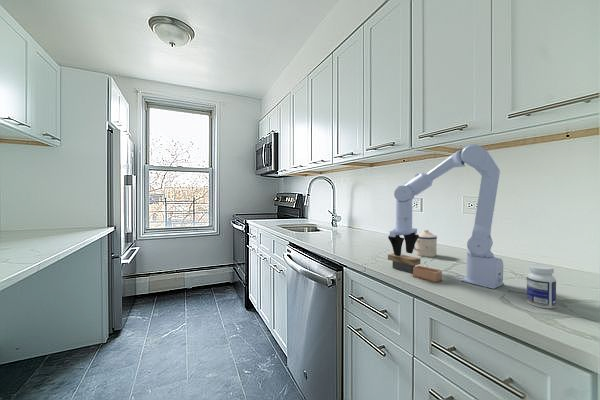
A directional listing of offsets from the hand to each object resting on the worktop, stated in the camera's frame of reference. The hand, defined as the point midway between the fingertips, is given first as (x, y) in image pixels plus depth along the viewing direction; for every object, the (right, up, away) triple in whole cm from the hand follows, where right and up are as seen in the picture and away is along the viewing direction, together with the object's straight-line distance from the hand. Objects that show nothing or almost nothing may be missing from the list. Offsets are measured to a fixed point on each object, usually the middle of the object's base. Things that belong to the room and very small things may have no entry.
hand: (403, 254), depth 104 cm
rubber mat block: (0, -6, 0) cm, 6 cm away
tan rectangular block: (+4, -6, -11) cm, 13 cm away
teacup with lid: (+18, -5, +24) cm, 31 cm away
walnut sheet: (0, -3, 0) cm, 3 cm away
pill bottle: (+23, -7, -32) cm, 41 cm away
